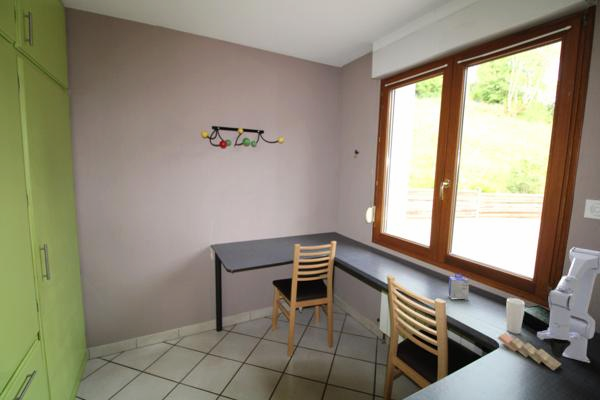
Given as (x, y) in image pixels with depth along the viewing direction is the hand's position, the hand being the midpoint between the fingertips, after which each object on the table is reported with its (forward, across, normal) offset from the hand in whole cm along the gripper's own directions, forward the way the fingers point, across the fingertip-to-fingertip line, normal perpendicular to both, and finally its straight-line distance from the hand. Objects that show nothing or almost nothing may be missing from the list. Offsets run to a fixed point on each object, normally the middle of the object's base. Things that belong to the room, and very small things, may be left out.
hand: (556, 356), depth 109 cm
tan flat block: (+4, +2, -4) cm, 6 cm away
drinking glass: (+5, -2, -26) cm, 26 cm away
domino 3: (+4, 0, 0) cm, 4 cm away
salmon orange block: (+4, +6, -11) cm, 13 cm away
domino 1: (+4, +4, -7) cm, 9 cm away
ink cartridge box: (+5, +5, -61) cm, 61 cm away
